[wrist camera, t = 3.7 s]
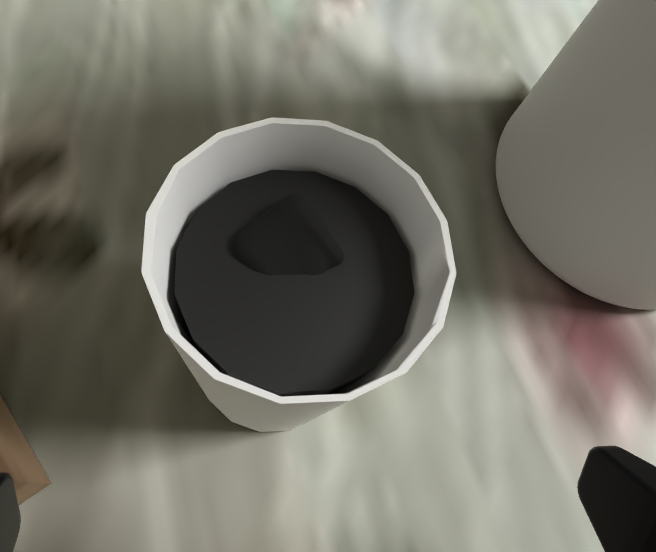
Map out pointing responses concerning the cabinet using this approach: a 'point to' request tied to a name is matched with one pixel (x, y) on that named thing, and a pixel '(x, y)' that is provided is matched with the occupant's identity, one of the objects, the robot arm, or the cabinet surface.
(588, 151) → the cylinder vase
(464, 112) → the cabinet surface
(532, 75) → the cabinet surface
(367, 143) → the white cup
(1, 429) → the walnut block
